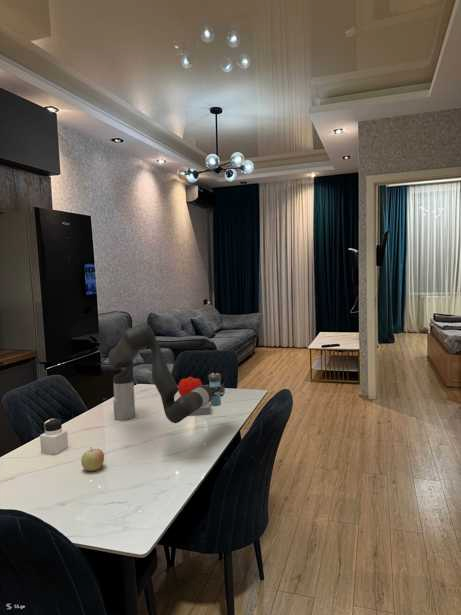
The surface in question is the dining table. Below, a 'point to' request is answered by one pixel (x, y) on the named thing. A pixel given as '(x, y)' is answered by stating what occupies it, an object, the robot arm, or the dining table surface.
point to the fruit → (92, 459)
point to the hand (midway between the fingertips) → (217, 385)
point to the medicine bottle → (53, 437)
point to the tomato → (188, 385)
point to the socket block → (202, 410)
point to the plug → (214, 381)
